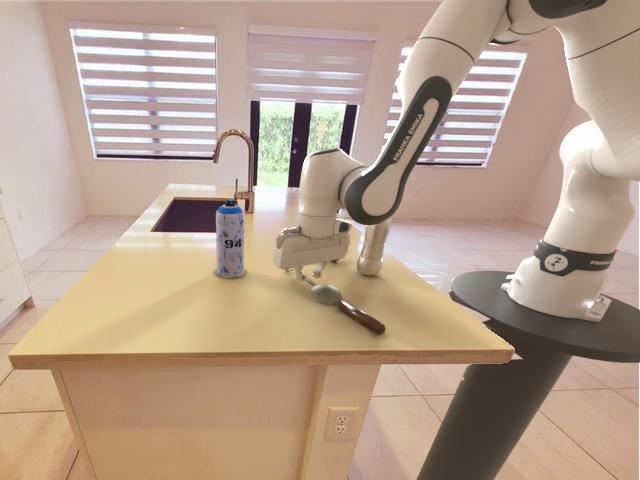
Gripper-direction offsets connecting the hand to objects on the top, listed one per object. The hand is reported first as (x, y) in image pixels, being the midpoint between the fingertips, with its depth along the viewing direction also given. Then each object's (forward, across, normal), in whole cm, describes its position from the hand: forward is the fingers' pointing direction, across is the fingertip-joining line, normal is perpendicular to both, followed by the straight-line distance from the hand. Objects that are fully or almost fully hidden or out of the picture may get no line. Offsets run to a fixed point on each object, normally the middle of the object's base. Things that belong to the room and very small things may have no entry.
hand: (308, 278), depth 79 cm
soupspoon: (+2, 0, -1) cm, 2 cm away
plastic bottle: (+3, +21, 0) cm, 21 cm away
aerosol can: (+2, -14, +17) cm, 22 cm away
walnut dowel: (+2, 0, -18) cm, 18 cm away
